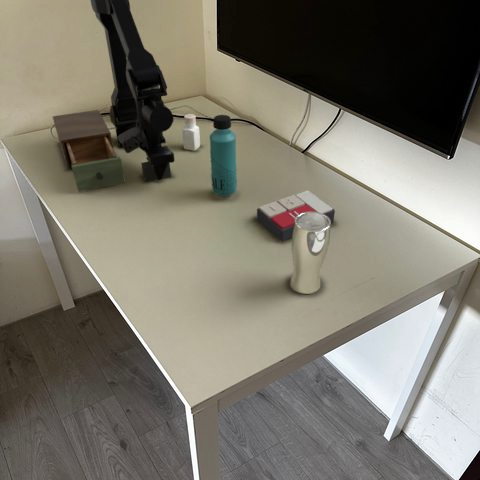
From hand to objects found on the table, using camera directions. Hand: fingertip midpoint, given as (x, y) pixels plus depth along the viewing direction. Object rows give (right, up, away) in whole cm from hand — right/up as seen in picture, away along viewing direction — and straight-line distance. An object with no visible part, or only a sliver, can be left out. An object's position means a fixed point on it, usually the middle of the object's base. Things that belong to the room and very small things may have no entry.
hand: (157, 175), depth 129 cm
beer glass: (+36, -33, -33) cm, 59 cm away
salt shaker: (+8, +12, +14) cm, 20 cm away
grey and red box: (+36, -16, -16) cm, 42 cm away
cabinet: (-23, +10, +12) cm, 28 cm away
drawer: (-17, 0, 0) cm, 17 cm away
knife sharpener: (0, 0, 0) cm, 1 cm away
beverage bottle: (+19, -8, -7) cm, 21 cm away
